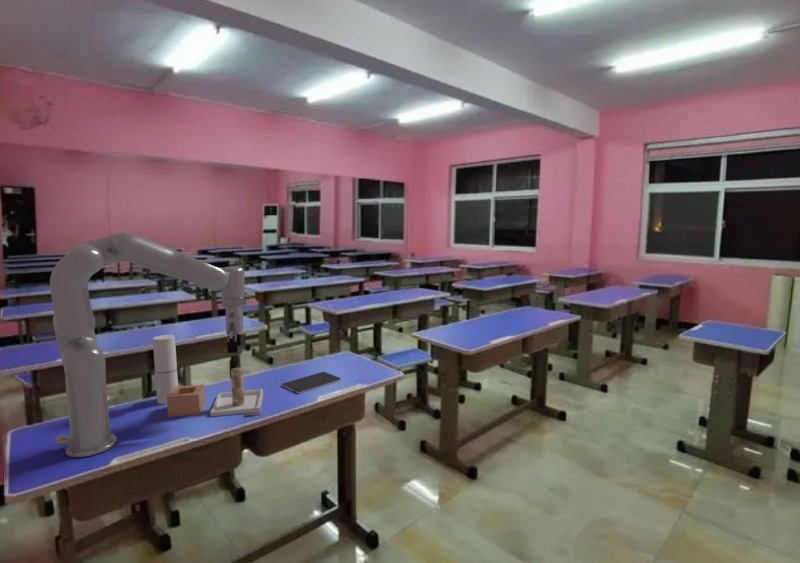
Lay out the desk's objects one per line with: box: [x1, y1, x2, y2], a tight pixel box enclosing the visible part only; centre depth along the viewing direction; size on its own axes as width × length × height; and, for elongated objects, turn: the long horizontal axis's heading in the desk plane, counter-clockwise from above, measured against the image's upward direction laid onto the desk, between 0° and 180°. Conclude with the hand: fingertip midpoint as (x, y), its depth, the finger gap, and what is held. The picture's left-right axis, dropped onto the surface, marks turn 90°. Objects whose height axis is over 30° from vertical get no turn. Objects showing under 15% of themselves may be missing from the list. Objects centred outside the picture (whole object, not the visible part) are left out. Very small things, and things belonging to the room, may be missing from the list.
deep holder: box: [166, 384, 206, 418], centre depth 154 cm, size 10×10×8 cm
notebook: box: [281, 371, 341, 394], centre depth 184 cm, size 13×2×21 cm
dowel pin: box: [230, 367, 245, 406], centre depth 159 cm, size 4×4×13 cm
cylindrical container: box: [152, 334, 179, 405], centre depth 162 cm, size 7×7×25 cm
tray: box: [210, 388, 264, 417], centre depth 160 cm, size 16×18×2 cm
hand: (234, 348), depth 157 cm, fingers open, 9 cm apart
